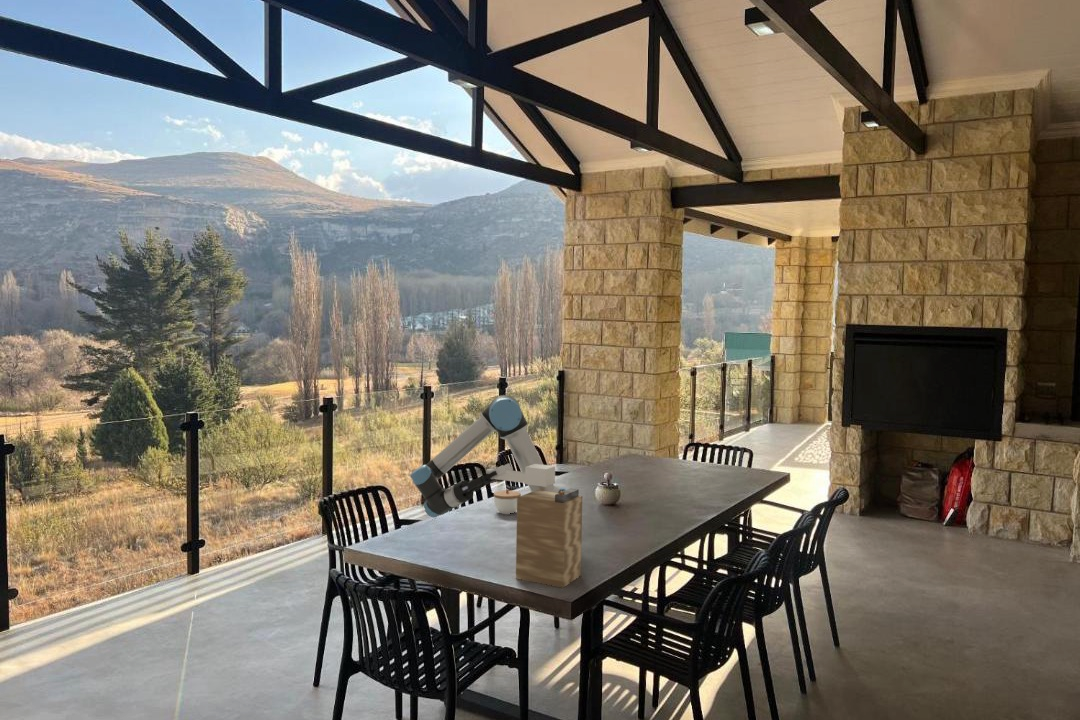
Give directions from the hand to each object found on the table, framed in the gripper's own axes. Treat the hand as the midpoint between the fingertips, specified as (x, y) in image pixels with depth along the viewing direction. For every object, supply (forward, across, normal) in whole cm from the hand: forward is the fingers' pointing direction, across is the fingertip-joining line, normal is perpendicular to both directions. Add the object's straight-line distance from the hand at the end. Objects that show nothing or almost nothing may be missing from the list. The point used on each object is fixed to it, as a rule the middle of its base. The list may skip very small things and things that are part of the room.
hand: (507, 467), depth 258 cm
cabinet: (-3, 0, -40) cm, 40 cm away
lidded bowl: (-54, -70, -11) cm, 90 cm away
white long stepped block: (+2, 0, -6) cm, 6 cm away
